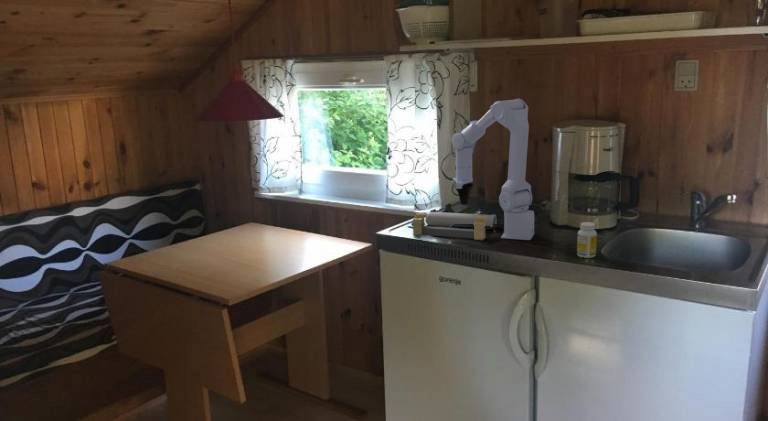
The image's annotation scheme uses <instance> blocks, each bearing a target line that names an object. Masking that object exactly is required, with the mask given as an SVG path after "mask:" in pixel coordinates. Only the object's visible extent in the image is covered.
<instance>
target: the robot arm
mask: <svg viewBox="0 0 768 421" xmlns="http://www.w3.org/2000/svg"><path fill="white" fill-rule="evenodd" d="M489 108H490V109H488V111H487V112H486V113H485V114H484V115H482V117H481V118H480V119H479V120H471V121H469V124H468V125H467V127H465V128H463V129H461V132H455V133H454V134H453V135H452V138H451V144H452V148H453V149H454V150H455V177H453V178H452V181H453V182H455V185H454V188H455V190H456V191H457V194H458V197H459V201H460V204H461V205H464V206H465V205H466V206H467V205H469V204H468V203H469V201H470V196H471V195H470V194H471V191H472V189H473V187H474V183H472V182H473V181H474V179H473V153H474V148H475V146H476V142H477V141H479V139H481V138H482V137H483V136H484V135H485V133H486V129H488V128H489V127H490V126H491V125H493V124H494V123H496V122H497V123H499V124H500V125H502V126H503V127H505V128H506V129H507V130H508V131H509V132H510V138H509V150H508V151H509V152H508V168H507V169H508V170H507V180H506V181H505V183H504V184H503V185H502V186H501V190H500V195H499V198H498V202H499V207H500V208H501V209H502V211H503V212H504V213H503V215H504V216H503V218H504V219H503V220H504V224H503V225H504V226H503V230H504V231H503V233H502V235H501V236H500V238H501V239H506V240H507V239H508V240H509V239H510V240H519V241H520V240H521V241H522V240H523V241H531V240H532V238H533V237H534V235H535V211H534V210H529V206H531V205H532V203H533V194H532V185H531V184H530V183H529V182H527V181H526V176H527V175H526V173H527V172H526V171H527V160H528V159H527V156H528V147H529V146H528V145H529V131H530V124H529V121H528V116H529V114H528V113H529V106H528V105H527V103H526V102H525V101H524V100H523V99H521V98H515V99H508V100H498V101H495V102H494V103H493V104H492V105H490V106H489Z"/></svg>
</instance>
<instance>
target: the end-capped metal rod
mask: <svg viewBox="0 0 768 421" xmlns="http://www.w3.org/2000/svg"><path fill="white" fill-rule="evenodd" d="M427 214H428V213H427V212H420V211H419V212H416V213H415V217H414V218H413V219H412V230H413V232H412V234H413V236H421V237H422V236H424V235H423V227H424V226H425V218H426V216H427ZM486 220H487V216H478V217H477V218H476V222H475V223H474V239H473V240H476V241H484V240H485V239H486V229H485V221H486Z"/></svg>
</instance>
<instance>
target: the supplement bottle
mask: <svg viewBox="0 0 768 421" xmlns="http://www.w3.org/2000/svg"><path fill="white" fill-rule="evenodd" d="M595 229H596V223H594V222H589V221H585V222H581V223H580V229H579V230H578V231H577V243H576V244H577V245H576V255H577V257H579V258H583V257H584V258H585V259H589V258H595V256H596V255H597V240H598V233H597V231H596V230H595Z"/></svg>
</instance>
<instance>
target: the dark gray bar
mask: <svg viewBox="0 0 768 421" xmlns="http://www.w3.org/2000/svg"><path fill="white" fill-rule="evenodd" d="M422 236H433V237H446V238H448V237H449V238H457V239H459V238H462V239H473V240H474V229H473V228H458V227H444V226H429V225H427V226H426V225H424V227H423V235H422Z"/></svg>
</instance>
